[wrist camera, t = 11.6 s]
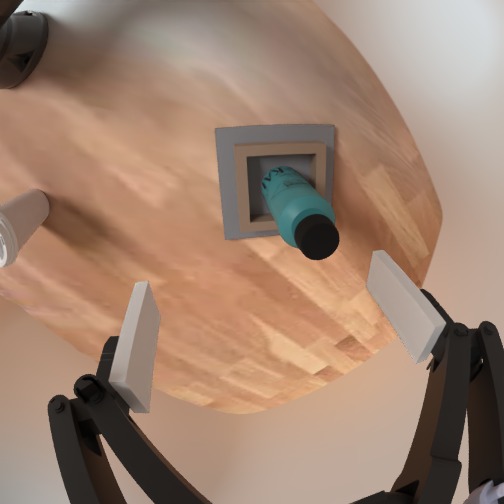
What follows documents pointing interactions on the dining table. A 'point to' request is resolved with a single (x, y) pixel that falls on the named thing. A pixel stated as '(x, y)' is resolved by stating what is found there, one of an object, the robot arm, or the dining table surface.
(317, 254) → the beverage bottle
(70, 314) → the dining table surface
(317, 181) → the bottle stand
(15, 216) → the coffee cup
